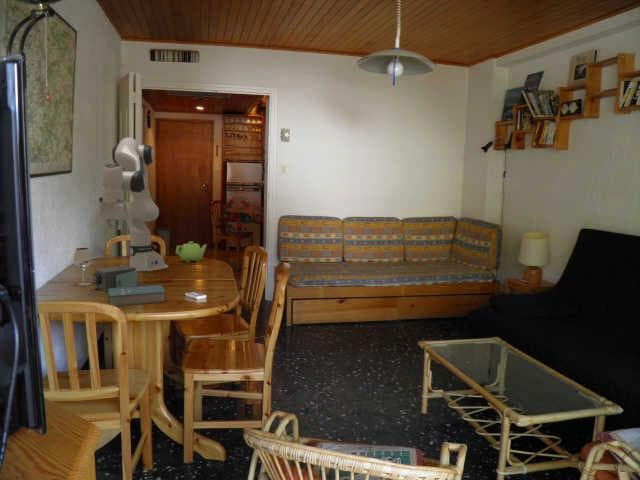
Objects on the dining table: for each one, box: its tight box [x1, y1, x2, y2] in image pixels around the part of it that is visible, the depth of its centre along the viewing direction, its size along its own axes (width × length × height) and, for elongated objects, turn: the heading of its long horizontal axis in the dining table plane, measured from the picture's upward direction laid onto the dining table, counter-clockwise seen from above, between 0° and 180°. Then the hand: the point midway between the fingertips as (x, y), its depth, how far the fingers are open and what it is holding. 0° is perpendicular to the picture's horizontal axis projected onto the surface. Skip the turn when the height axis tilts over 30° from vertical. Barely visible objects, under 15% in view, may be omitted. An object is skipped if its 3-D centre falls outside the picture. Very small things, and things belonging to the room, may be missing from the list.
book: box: [107, 284, 166, 307], centre depth 232 cm, size 23×16×5 cm
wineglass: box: [73, 247, 93, 287], centre depth 261 cm, size 8×8×18 cm
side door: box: [116, 270, 139, 288], centre depth 252 cm, size 15×2×8 cm, turn 164°
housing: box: [92, 264, 136, 292], centre depth 256 cm, size 18×10×10 cm, turn 139°
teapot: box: [174, 241, 208, 264], centre depth 331 cm, size 20×13×13 cm
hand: (114, 228), depth 246 cm, fingers open, 8 cm apart
